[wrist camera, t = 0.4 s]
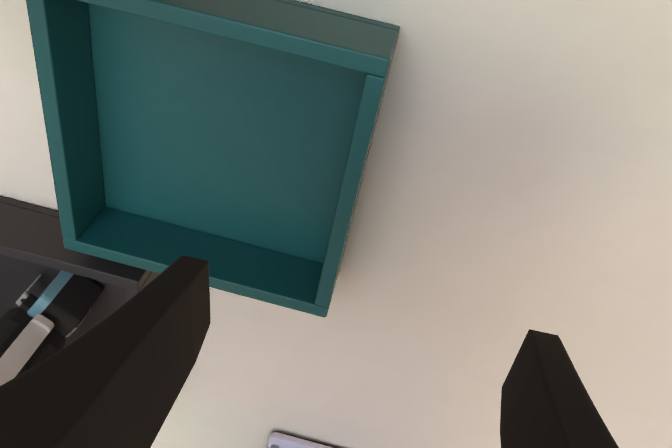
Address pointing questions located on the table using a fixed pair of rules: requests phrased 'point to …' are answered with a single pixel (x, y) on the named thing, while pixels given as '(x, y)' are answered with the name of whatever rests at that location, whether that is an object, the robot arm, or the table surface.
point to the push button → (43, 322)
